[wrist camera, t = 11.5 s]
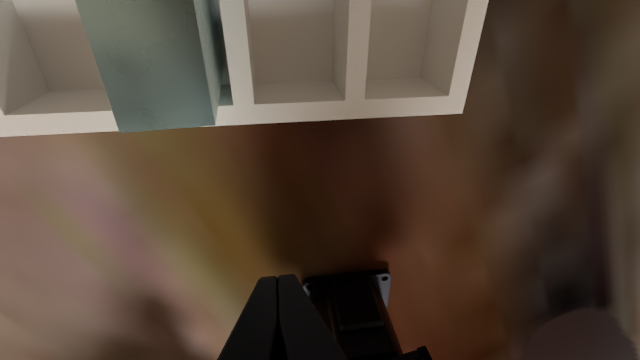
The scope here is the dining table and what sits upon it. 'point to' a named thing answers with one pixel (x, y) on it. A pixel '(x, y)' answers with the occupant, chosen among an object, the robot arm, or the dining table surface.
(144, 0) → the metal block
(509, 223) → the dining table surface
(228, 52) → the rack
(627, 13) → the dining table surface
